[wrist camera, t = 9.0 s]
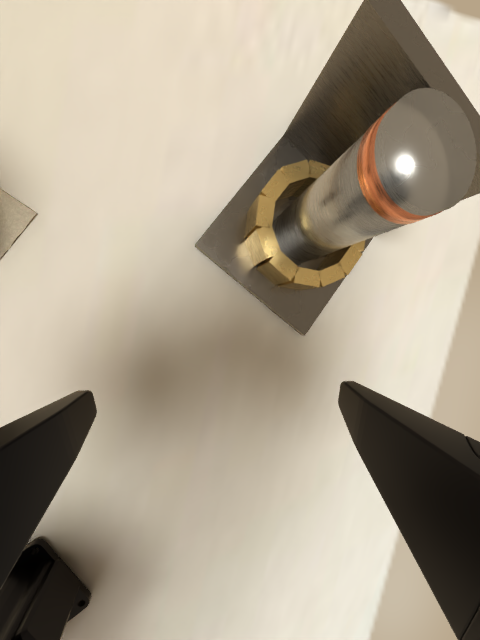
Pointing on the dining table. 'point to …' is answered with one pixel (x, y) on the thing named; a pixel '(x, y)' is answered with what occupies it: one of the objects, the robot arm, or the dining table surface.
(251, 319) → the dining table surface
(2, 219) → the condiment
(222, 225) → the collar stand
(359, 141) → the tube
